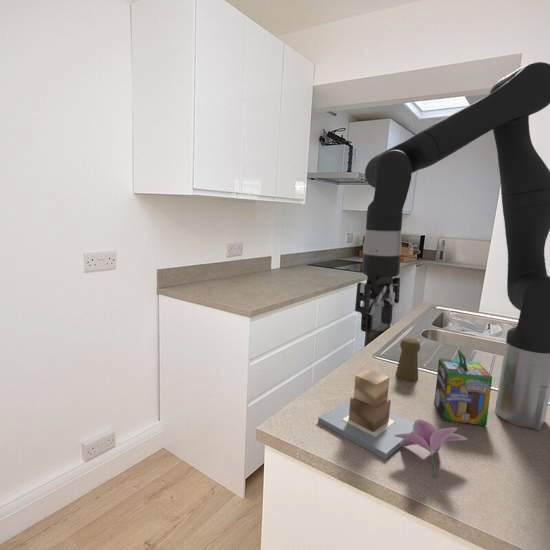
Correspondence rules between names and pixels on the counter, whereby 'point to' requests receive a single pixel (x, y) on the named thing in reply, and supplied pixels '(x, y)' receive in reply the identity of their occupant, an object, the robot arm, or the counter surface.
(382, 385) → the oak cube
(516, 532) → the counter surface
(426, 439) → the lily
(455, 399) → the chalk box
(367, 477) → the counter surface
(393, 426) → the board
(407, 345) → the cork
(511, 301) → the robot arm
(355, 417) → the walnut block
